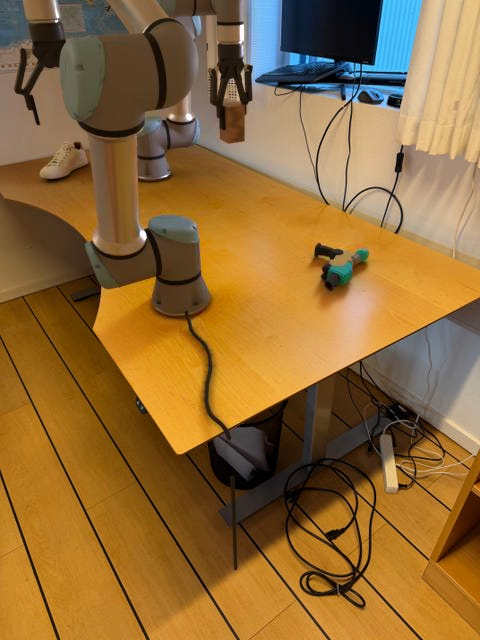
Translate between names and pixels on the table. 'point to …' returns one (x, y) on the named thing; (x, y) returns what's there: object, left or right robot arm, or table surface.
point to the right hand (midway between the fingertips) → (66, 120)
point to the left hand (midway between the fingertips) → (231, 127)
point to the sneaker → (65, 161)
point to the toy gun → (339, 264)
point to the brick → (233, 123)
